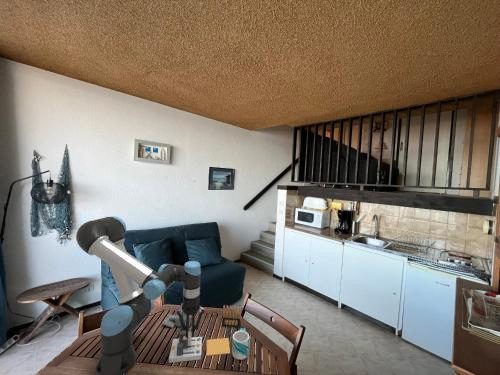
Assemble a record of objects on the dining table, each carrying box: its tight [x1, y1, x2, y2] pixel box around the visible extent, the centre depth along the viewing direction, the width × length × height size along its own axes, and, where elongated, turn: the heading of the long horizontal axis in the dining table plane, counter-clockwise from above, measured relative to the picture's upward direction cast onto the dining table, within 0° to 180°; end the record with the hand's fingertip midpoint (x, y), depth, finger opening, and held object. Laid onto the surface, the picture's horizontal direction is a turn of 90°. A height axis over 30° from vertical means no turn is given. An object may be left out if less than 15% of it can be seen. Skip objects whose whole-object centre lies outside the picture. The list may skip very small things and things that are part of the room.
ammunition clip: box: [221, 304, 242, 329], centre depth 126 cm, size 11×2×12 cm, turn 87°
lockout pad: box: [206, 337, 231, 357], centre depth 110 cm, size 11×10×1 cm
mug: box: [231, 327, 251, 361], centre depth 109 cm, size 8×12×8 cm
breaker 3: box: [182, 335, 188, 349], centre depth 107 cm, size 3×3×4 cm
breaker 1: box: [178, 330, 186, 343], centre depth 110 cm, size 3×3×4 cm
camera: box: [161, 302, 192, 329], centre depth 126 cm, size 9×12×15 cm
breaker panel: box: [168, 336, 203, 364], centre depth 107 cm, size 14×12×2 cm
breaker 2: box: [177, 342, 184, 356], centre depth 103 cm, size 3×3×4 cm
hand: (189, 343), depth 107 cm, fingers closed
